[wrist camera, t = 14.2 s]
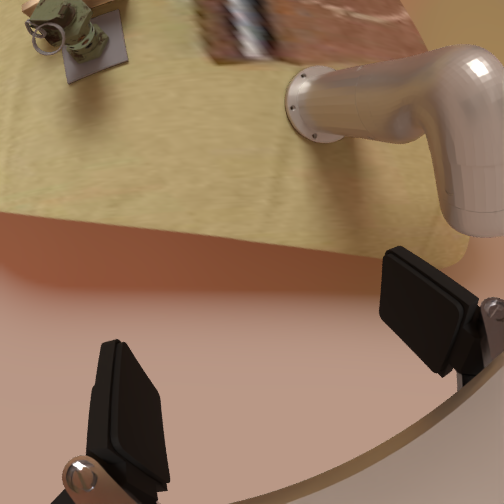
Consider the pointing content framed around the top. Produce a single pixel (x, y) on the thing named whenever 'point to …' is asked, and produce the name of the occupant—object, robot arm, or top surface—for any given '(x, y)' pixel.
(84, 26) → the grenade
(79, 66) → the coaster
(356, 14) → the top surface
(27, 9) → the light wood u-shaped frame
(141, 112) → the top surface
